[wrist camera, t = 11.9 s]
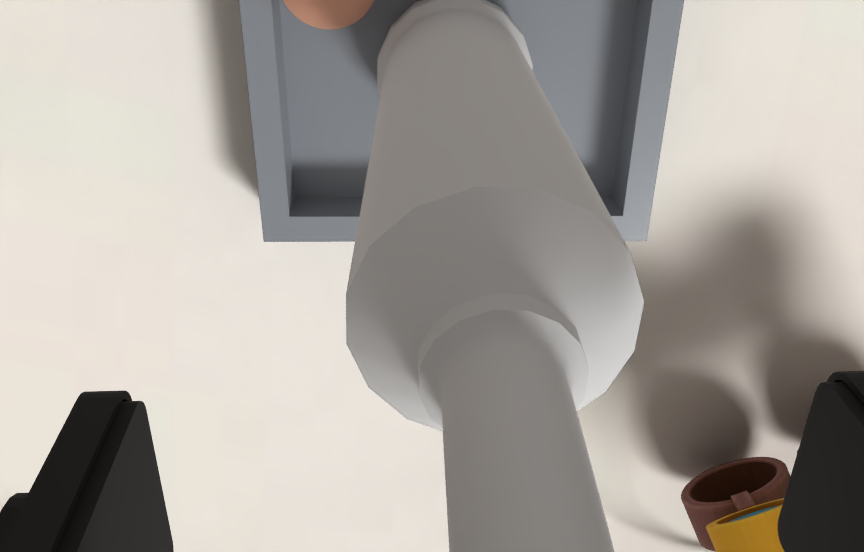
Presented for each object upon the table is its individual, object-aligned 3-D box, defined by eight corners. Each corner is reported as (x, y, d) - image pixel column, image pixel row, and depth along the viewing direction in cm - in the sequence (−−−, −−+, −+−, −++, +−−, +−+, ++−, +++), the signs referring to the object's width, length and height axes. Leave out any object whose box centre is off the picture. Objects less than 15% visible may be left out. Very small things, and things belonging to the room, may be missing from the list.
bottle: (533, 122, 30) (867, 988, 8) (391, 144, 30) (340, 1036, 8) (519, -27, 27) (954, 650, 5) (364, -1, 27) (187, 735, 6)
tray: (630, 211, 32) (646, 240, 30) (273, 212, 32) (263, 241, 30) (678, -127, 26) (703, -122, 24) (241, -131, 26) (226, -126, 24)
